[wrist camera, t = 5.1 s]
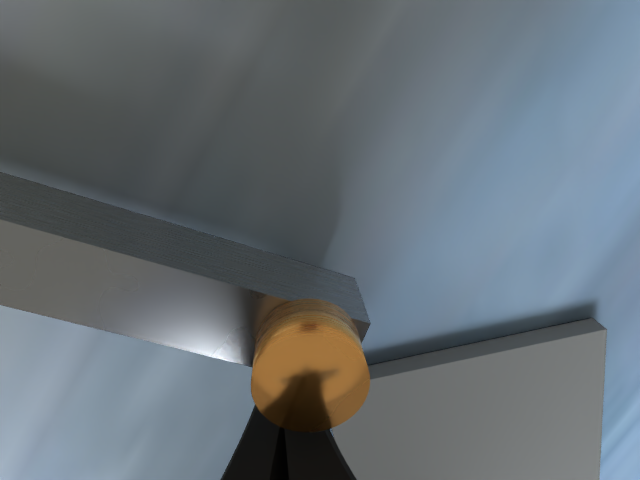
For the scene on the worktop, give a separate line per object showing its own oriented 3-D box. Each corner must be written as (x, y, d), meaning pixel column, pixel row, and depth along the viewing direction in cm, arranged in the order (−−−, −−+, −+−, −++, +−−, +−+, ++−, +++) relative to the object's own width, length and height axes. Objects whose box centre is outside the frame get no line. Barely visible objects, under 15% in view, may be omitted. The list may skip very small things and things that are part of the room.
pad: (585, 509, 16) (596, 526, 15) (364, 557, 16) (367, 574, 15) (592, 317, 13) (606, 329, 12) (320, 376, 13) (322, 389, 12)
